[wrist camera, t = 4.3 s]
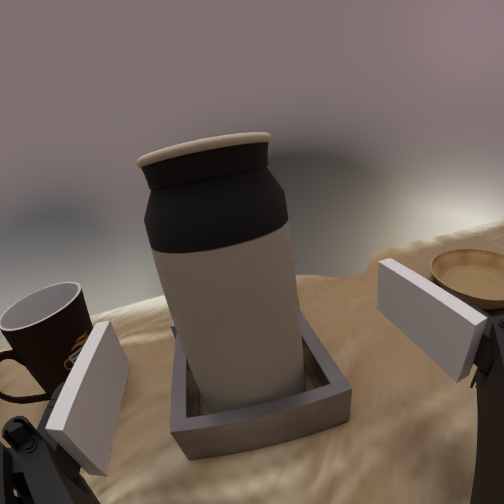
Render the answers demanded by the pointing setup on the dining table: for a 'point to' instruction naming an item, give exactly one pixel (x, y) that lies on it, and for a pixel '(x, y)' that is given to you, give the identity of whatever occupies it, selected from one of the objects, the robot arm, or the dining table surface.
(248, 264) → the travel mug
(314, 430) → the socket collar
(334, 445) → the dining table surface
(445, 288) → the plant saucer
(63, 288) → the coffee mug
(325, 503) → the dining table surface
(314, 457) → the dining table surface
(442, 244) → the dining table surface
